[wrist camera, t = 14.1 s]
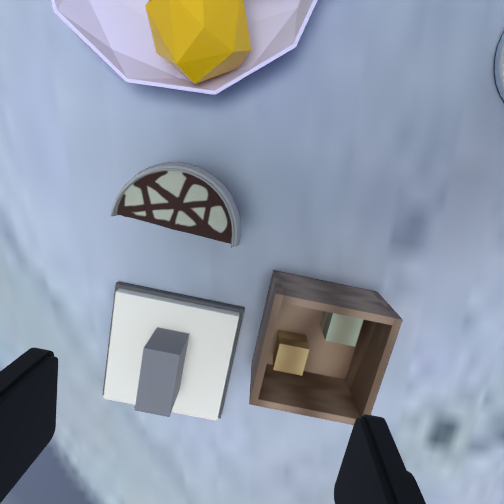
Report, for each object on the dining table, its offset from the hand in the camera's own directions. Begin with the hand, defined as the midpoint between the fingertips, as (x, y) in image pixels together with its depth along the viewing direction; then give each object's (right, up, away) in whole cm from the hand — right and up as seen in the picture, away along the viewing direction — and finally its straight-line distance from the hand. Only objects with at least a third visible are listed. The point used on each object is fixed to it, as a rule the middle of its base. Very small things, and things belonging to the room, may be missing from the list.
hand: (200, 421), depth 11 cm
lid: (-9, -8, +34) cm, 36 cm away
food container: (-5, +12, +30) cm, 33 cm away
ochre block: (+6, -7, +33) cm, 35 cm away
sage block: (+12, -3, +32) cm, 35 cm away
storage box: (+9, -5, +33) cm, 35 cm away
